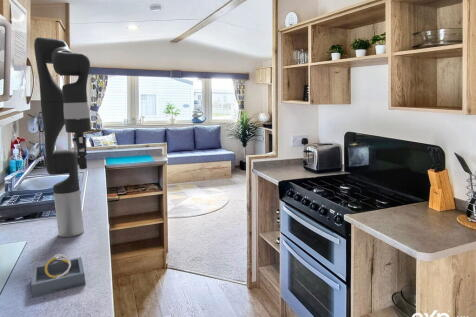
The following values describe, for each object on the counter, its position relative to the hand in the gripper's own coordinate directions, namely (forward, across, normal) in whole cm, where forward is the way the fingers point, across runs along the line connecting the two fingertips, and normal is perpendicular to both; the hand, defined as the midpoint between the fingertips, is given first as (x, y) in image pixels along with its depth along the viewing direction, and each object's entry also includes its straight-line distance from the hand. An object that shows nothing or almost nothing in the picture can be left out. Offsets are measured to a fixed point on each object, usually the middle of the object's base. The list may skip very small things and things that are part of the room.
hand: (82, 166), depth 116 cm
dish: (+30, +16, -10) cm, 36 cm away
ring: (+29, +17, -10) cm, 35 cm away
